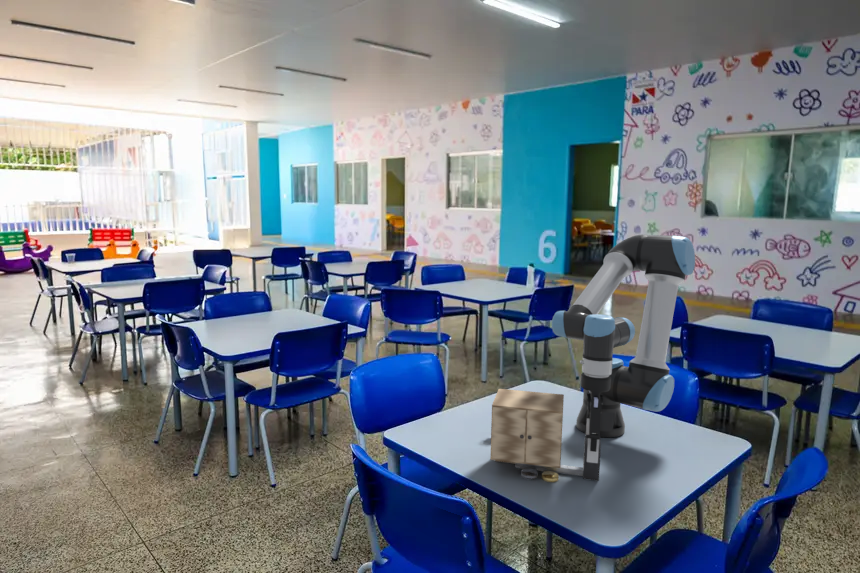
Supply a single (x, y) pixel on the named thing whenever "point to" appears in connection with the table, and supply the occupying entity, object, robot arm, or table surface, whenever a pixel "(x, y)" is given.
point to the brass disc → (550, 476)
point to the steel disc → (529, 474)
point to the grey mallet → (587, 471)
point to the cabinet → (527, 428)
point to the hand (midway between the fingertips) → (591, 451)
